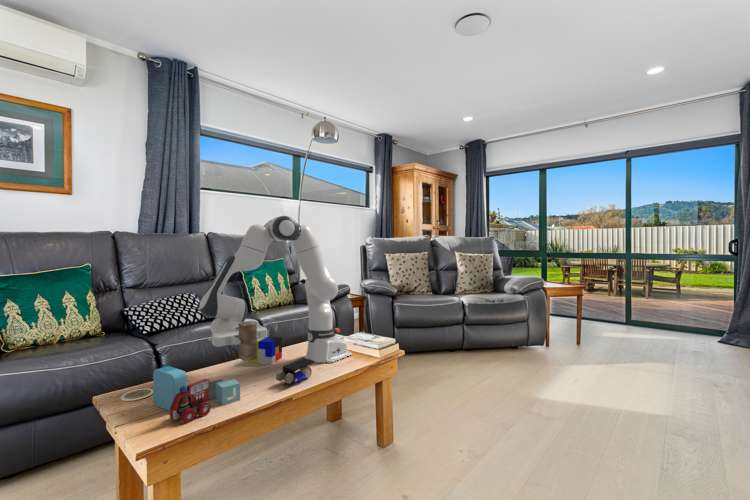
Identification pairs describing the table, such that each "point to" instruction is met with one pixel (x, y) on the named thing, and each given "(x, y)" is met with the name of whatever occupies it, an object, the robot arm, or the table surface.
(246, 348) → the walnut block
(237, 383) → the letter cube
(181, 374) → the data package
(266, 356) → the puzzle toy
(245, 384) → the table surface
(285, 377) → the toy car
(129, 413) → the table surface
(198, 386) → the toy fire truck
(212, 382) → the mat
